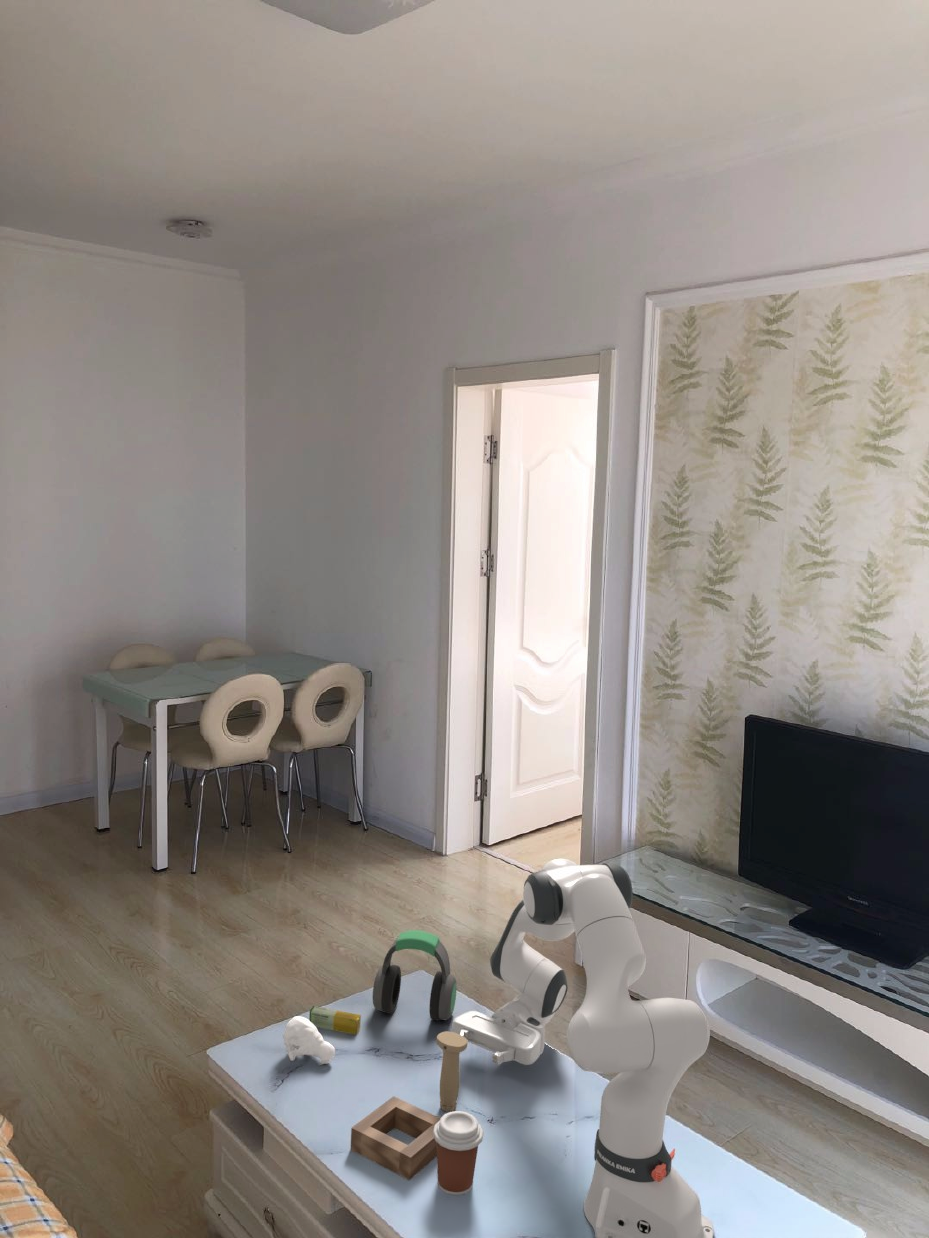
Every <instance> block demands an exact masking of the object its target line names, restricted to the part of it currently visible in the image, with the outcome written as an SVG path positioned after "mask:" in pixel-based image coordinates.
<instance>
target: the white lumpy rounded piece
mask: <svg viewBox="0 0 929 1238" xmlns="http://www.w3.org/2000/svg"><path fill="white" fill-rule="evenodd" d="M284 1029H285V1030H284V1032H283V1034H282V1037H283V1043H284V1046H285V1048H286V1052H287V1054H288V1058H289V1060H290V1061H292V1062H294V1061H295V1059H296V1057H300V1056H304V1055H305V1056H314V1057H316V1058H318V1059H319V1061H317V1063H318V1064H319V1066H320V1065H325V1064H326V1065H329V1063H330V1062H331V1061H332V1060H334V1058H335V1055H336V1049H335V1047H334V1046H333V1045H332V1044H331V1043H330V1042H328V1041H325V1039H324V1037H323V1035H322V1034H321V1033H320V1032H319V1030H318V1027H315V1026H314V1024H313V1023H311V1022H310V1021H309V1019H308V1018H306V1017H304V1016H299V1015H297V1016H296V1015H295V1016H294V1017H292V1018H291V1019H290V1020H289V1021H288V1022H287V1024H286V1026H285V1028H284Z"/></svg>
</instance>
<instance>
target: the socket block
mask: <svg viewBox="0 0 929 1238" xmlns="http://www.w3.org/2000/svg"><path fill="white" fill-rule="evenodd" d="M440 1118H441V1117H440V1116H437V1115H435V1114H432V1113H431V1112H428V1111H426V1110H424V1109H422V1108H419V1107H417V1106H416V1105H413V1104H412V1103H409V1102H406V1101H404V1100H402V1099H401V1098H399V1097H396V1096H394V1095H393V1096H392V1097H391V1098H389V1099H388V1100H386V1101H385V1102H384V1103H383V1104H381V1105H380V1106H379V1107H377V1108H376V1109H375V1110H373V1111H372V1112H370V1113H369V1114H368V1115H366V1116H365V1117H364V1118H362V1119H361V1120H360V1121H359V1122H357V1123H356V1124H355V1125H353V1126H351V1129H350V1131H351V1132H350V1133H351V1134H350V1147H349V1148H350V1149H349V1150H350V1151H352V1152H354V1153H356V1154H357V1155H360V1156H362V1157H364V1158H366V1159H368V1160H370V1161H371V1162H372V1163H374V1164H377V1165H379V1166H381V1167H382V1168H385V1169H386V1170H389V1171H391V1172H392V1173H394V1174H396V1175H398V1176H400V1177H401V1178H403V1179H406V1180H407V1181H410V1180H412V1179H413V1178H414V1177H415V1176H416V1175H417V1174H419V1173H420V1172H421V1171H422V1170H423V1169H425V1167H427V1166H428V1165H429V1164H430V1163H431V1162H432V1161H434V1159H437V1142H436V1141H435V1139H434V1136H433V1130H434V1126H435V1124H436V1123H437V1122H438V1121H439V1120H440ZM394 1129H396V1130H397V1131H400V1132H402V1133H404V1134H406V1135H408V1136H410V1137H412V1138H413V1141H411V1142H410V1143H409V1144H406V1143H404V1142H402V1141H401V1140H398V1139H397V1138H394V1137H392V1136H391V1135H389V1134H390V1133H391V1132H392V1131H393V1130H394Z"/></svg>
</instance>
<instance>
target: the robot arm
mask: <svg viewBox="0 0 929 1238" xmlns="http://www.w3.org/2000/svg"><path fill="white" fill-rule="evenodd" d="M633 891H634V889H633V885H632V880H631V877H630V876H629V874H628V871H626V870H625V869H624V868H623V867H622V866H621V865H619V864H615V863H609V862H604V863H602V864H581V865H578V864H577V863H576V862H574V861H573V860H571V859H567V858H561V857H560V858H555V859H551V860H549V861H548V862H546V863H545V864H544V865H543V867H542V869H541V870H538V871H534V872H533V873H531V874H529V875H528V876H527V878H526V879H525V881H524V883H523V892H522V900H521V901H520V902H519V903H518V904H517V906H516V907H515V908H514V910H513V911H512V913H511V915H510V917H509V919H508V921H507V923H506V926H505V927H504V930H503V933H502V935H501V937H500V939H499V941H498V943H497V945H496V946H495V948H494V949H493V951H492V954H491V956H490V957H489V958H490V959H489V966H490V969H491V972H492V975H493V976H494V977H496V978H497V979H499V980H501V981H502V982H504V983H506V984H507V985H509V986H511V988H513V989H514V990H516V991H517V992H519V994H518V995H516V996H515V997H514V998H513V999H512V1000H511V1001H508V1002H506V1004H504V1005H502V1006H501V1007H500V1008H498V1009H496V1010H495V1011H494V1013H493V1014H491V1015H488V1014H485V1013H483V1012H480V1011H479V1010H478V1011H477V1010H469V1011H466V1012H463V1013H461V1014H460V1015H458V1016H456V1017H455V1018H453V1020H452V1023H451V1026H452V1027H451V1032H454V1033H457V1034H460V1035H462V1036H464V1037H465V1038H466V1039H467V1040H468V1043H469V1044H472V1045H475V1046H478V1047H480V1048H483V1049H485V1050H486V1051H489V1052H492V1053H494V1054H493V1056H492V1062H493V1063H495V1064H497V1065H500V1064H502V1063H504V1062H505V1063H506V1062H510V1061H511V1062H512V1061H514V1062H517V1063H519V1064H522V1065H523V1066H530V1065H532V1064H534V1063H535V1062H536V1061H537V1060H538V1059H540V1055H542V1054H543V1053H544V1048H545V1042H546V1040H545V1039H546V1025H547V1024H548V1023H549V1022H550V1021H551V1020H552V1018H553V1017H554V1015H555V1014H556V1013H557V1011H558V1010H559V1008H560V1007H561V1006H562V1004H563V1002H564V1000H565V999H566V996H567V992H568V989H569V988H568V987H569V986H568V979H567V974H566V972H565V970H564V969H563V968H561V967H560V966H559V965H558V964H556V963H555V962H554V961H552V960H551V959H549V958H547V957H545V956H544V955H543V954H542V953H540V952H538V951H537V950H535V949H534V948H533V947H531V946H530V945H529V944H528V943H527V942H526V941H525V940H524V937H525V936H526V934H529V935H532V936H533V937H536V938H539V939H541V940H543V941H550V942H555V941H561V940H564V939H566V938H568V937H570V936H571V935H572V934H575V937H576V939H577V944H578V946H579V951H580V953H581V959H582V961H583V965H584V971H585V977H586V988H585V989H586V991H585V995H584V998H583V1000H582V1002H581V1005H580V1007H579V1008H578V1009H577V1011H576V1012H575V1013H574V1015H573V1016H572V1017H571V1018H570V1021H569V1024H568V1026H567V1030H566V1031H567V1032H566V1043H567V1047H568V1052H569V1054H570V1056H571V1058H572V1060H573V1061H574V1063H575V1064H576V1065H577V1066H578V1067H579V1068H580V1069H581V1071H584V1072H590V1073H598V1074H617V1073H618V1074H617V1075H616V1076H615V1077H613V1078H612V1079H611V1080H610V1081H609V1082H608V1083H607V1084H606V1086H605V1087H604V1089H603V1092H602V1095H601V1102H600V1113H599V1123H598V1124H599V1125H598V1129H597V1131H596V1134H595V1140H594V1141H595V1142H594V1153H593V1154H594V1157H593V1158H594V1159H593V1160H594V1168H593V1174H592V1177H591V1182H590V1186H589V1189H588V1192H587V1194H586V1197H585V1198H584V1202H583V1211H584V1215H585V1217H586V1219H587V1220H588V1222H589V1224H590V1225H591V1227H592V1228H593V1230H594V1237H595V1238H713V1236H714V1233H715V1232H714V1231H715V1230H714V1225H713V1222H712V1220H711V1219H709V1218H708V1217H707V1216H705V1215H704V1214H702V1205H701V1201H700V1197H699V1195H698V1193H697V1192H696V1191H695V1189H693V1188H692V1187H691V1185H690V1184H689V1183H688V1182H687V1181H686V1180H685V1179H684V1178H683V1176H682V1175H681V1174H680V1173H679V1172H678V1171H677V1170H676V1169H675V1168H674V1167H673V1165H672V1160H673V1159H675V1155H676V1149H675V1148H673V1149H672V1150H671V1152H670V1153H669V1152H668V1149H667V1147H666V1145H665V1141H664V1138H663V1137H664V1132H665V1131H664V1129H665V1123H666V1122H665V1121H666V1116H667V1115H666V1114H667V1108H668V1105H669V1101H670V1099H671V1096H672V1094H673V1092H674V1090H675V1089H676V1086H677V1084H678V1082H679V1081H680V1080H681V1078H682V1076H683V1075H684V1074H685V1072H686V1071H688V1069H689V1068H690V1066H691V1065H693V1064H694V1063H695V1062H696V1061H697V1060H698V1059H699V1058H701V1057H702V1056H704V1054H705V1053H706V1051H707V1048H708V1046H709V1044H710V1035H711V1032H710V1026H709V1021H708V1019H707V1017H706V1014H705V1013H704V1011H703V1010H702V1008H701V1007H700V1006H699V1005H698V1004H697V1003H696V1002H695V1001H694V1000H690V999H685V998H684V999H682V998H675V997H659V998H652V999H643V1000H642V999H641V1000H633V999H631V996H630V992H629V987H630V986H632V985H633V984H634V983H635V982H637V980H638V979H640V977H642V974H643V973H644V971H645V969H646V965H647V956H646V953H645V950H644V947H643V945H642V942H641V939H640V936H639V933H638V930H637V927H636V924H635V922H634V919H633V916H632V913H631V911H630V909H631V906H632V904H633V899H634V893H633ZM574 932H575V933H574Z"/></svg>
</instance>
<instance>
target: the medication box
mask: <svg viewBox="0 0 929 1238" xmlns="http://www.w3.org/2000/svg"><path fill="white" fill-rule="evenodd" d="M361 1017H362V1015H361V1014H357V1013H352V1012H346V1011H342V1010H336V1009H331V1008H326V1007H320V1006H315V1005H313V1006H312V1007H311V1008H310V1010H309V1017H308V1018H309V1019H308V1020H309V1021H310V1022H311V1023H313V1024H314V1026H315V1027H316V1028H319V1029H324V1030H329V1031H335V1032H341V1033H346V1034H351V1035H358V1034H359V1032H361V1020H362V1019H361Z"/></svg>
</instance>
